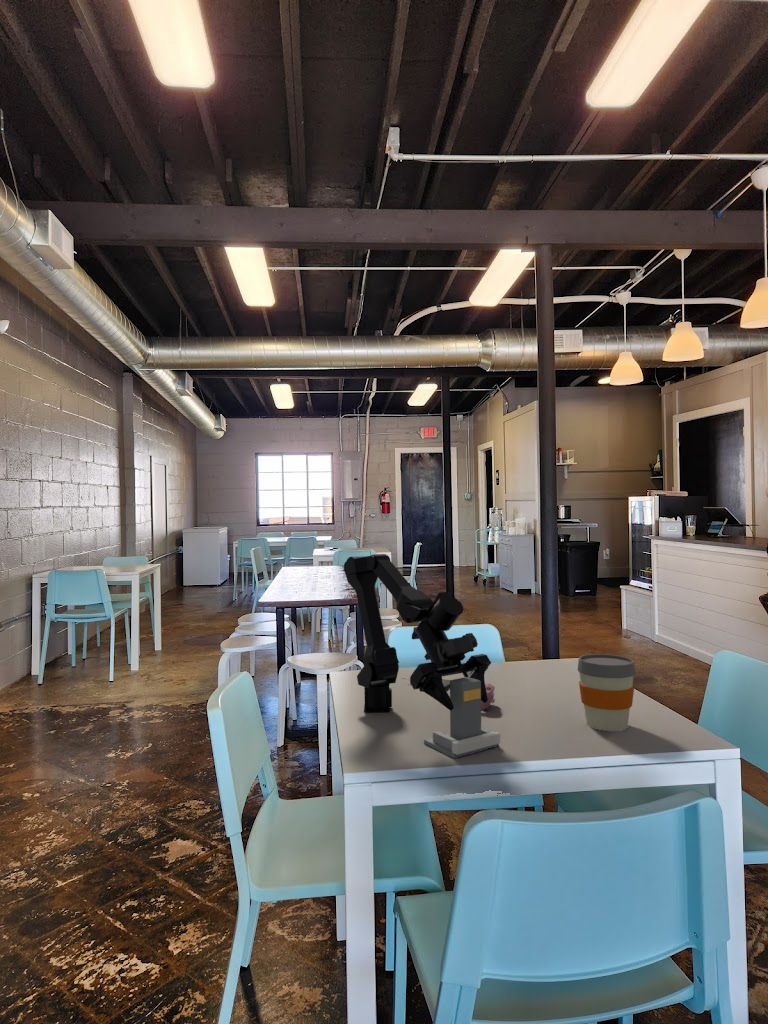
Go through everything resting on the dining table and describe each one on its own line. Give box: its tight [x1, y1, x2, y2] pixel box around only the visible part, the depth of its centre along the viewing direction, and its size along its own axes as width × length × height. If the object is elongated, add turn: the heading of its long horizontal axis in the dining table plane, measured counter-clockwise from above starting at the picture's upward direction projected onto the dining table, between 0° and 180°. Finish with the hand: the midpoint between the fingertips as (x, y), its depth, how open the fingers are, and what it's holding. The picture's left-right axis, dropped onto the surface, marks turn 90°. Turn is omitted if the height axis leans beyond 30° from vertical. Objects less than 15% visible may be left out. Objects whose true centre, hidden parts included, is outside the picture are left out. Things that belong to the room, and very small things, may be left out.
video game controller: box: [481, 683, 496, 712], centre depth 158 cm, size 10×5×7 cm, turn 169°
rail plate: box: [423, 726, 501, 759], centre depth 131 cm, size 11×12×3 cm
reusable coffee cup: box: [577, 653, 636, 732], centre depth 143 cm, size 13×13×15 cm
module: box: [449, 677, 482, 740], centre depth 130 cm, size 4×5×13 cm
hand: (469, 705), depth 129 cm, fingers open, 9 cm apart
